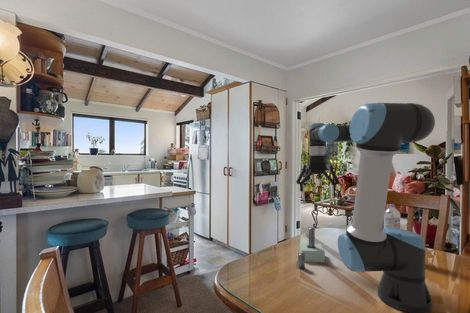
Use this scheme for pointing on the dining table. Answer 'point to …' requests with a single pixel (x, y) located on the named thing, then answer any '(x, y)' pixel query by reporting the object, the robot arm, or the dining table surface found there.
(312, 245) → the long pin
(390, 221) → the water bottle
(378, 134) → the robot arm
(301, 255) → the short pin
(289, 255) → the dining table surface
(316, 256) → the hole block
